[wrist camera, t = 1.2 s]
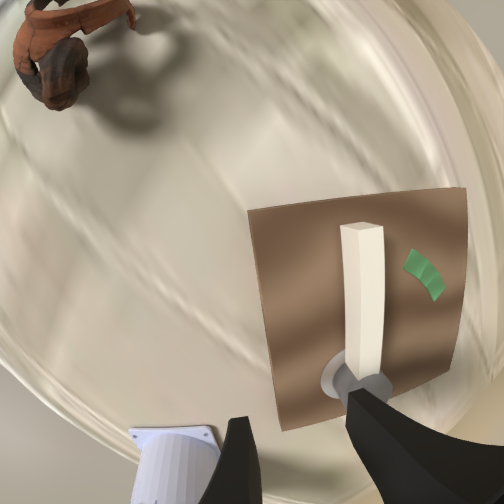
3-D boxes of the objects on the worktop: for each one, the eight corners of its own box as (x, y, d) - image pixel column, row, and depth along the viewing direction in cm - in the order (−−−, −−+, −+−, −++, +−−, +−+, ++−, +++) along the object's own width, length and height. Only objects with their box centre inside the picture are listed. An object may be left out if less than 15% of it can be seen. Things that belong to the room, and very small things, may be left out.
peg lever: (372, 385, 19) (389, 407, 16) (332, 398, 19) (345, 423, 16) (376, 219, 16) (403, 225, 13) (324, 227, 16) (346, 234, 13)
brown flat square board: (441, 363, 22) (450, 371, 21) (278, 420, 21) (282, 433, 19) (454, 187, 18) (467, 187, 17) (247, 210, 17) (249, 212, 16)
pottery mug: (26, 62, 13) (19, -9, 6) (119, 36, 17) (135, -34, 10) (22, 162, 12) (-15, 77, 5) (146, 121, 17) (170, 27, 10)
